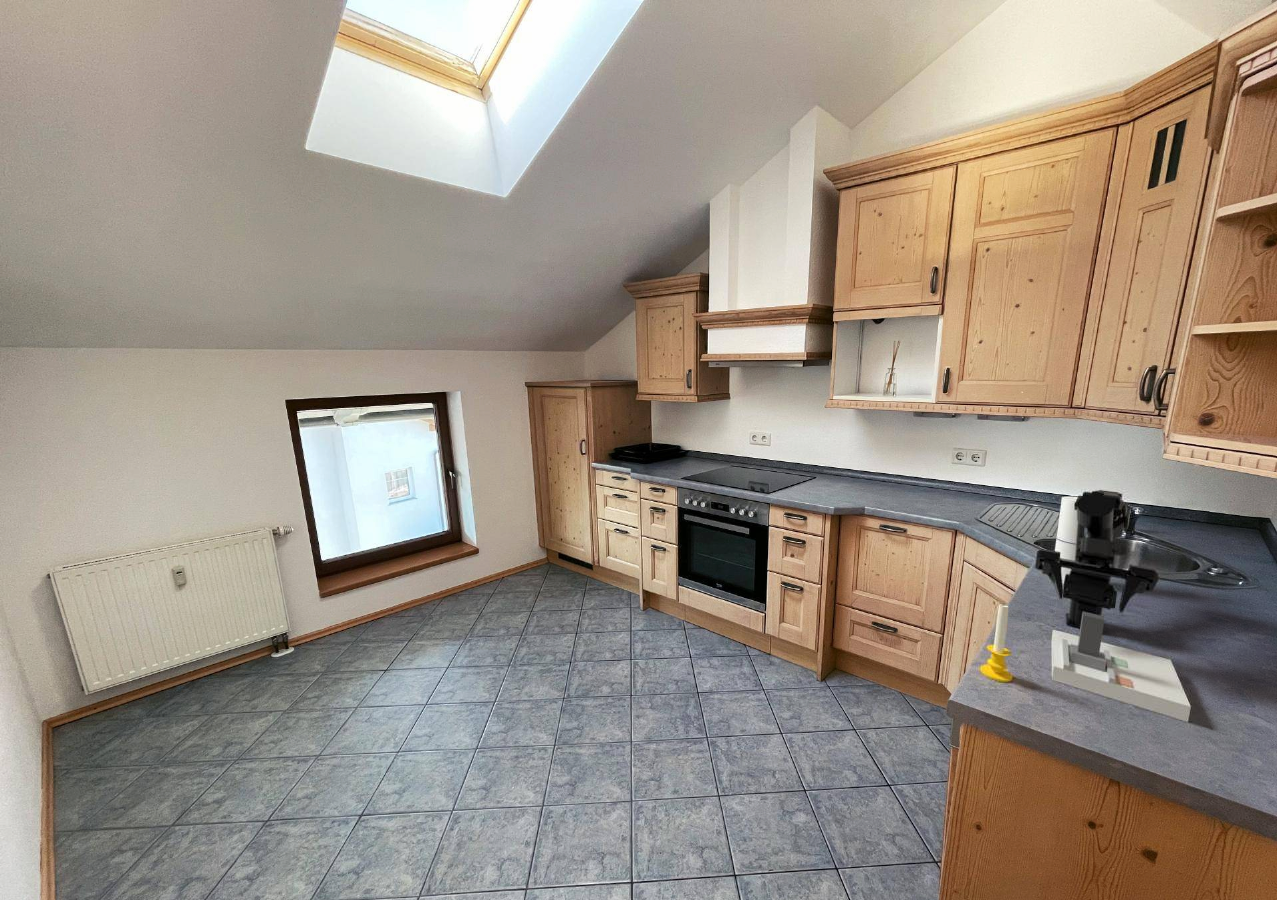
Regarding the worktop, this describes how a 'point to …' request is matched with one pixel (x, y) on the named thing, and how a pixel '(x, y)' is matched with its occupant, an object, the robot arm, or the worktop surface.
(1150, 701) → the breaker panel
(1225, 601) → the worktop surface
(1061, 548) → the cylindrical container
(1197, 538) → the worktop surface
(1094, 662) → the handle
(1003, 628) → the candle
